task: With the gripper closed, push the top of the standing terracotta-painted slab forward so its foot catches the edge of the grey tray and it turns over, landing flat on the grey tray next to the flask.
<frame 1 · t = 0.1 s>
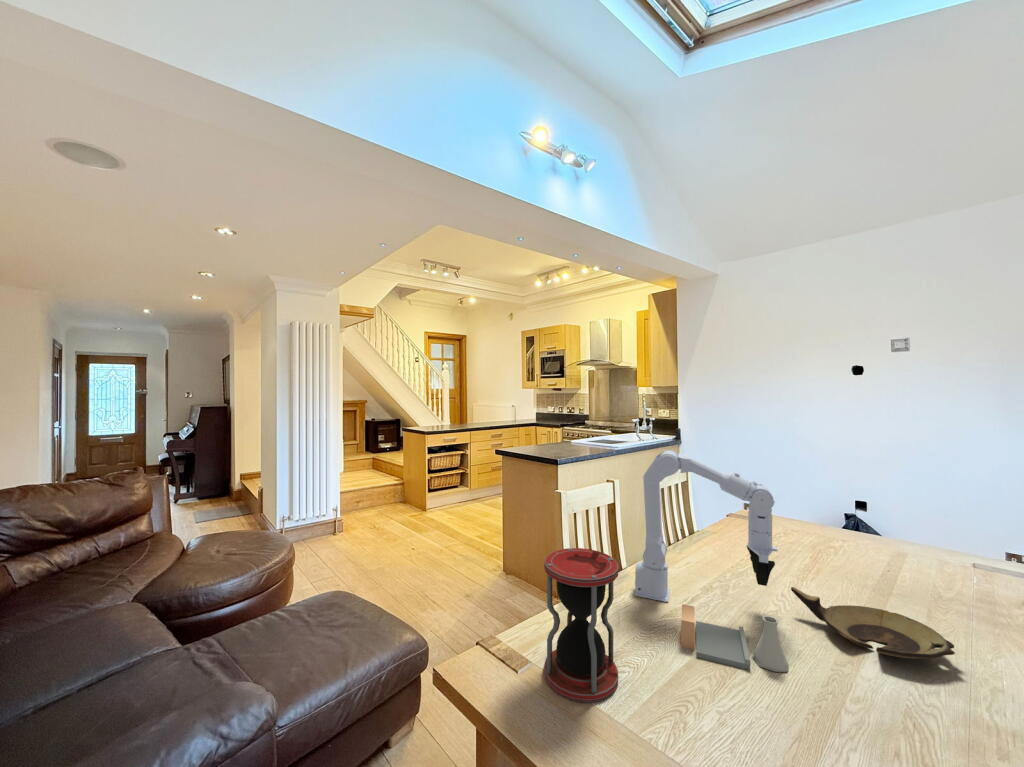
hand: (760, 578, 115), 10 cm above the table, fingers open, 7 cm apart
slab: (688, 638, 104), on the table
oil lamp: (868, 639, 104), on the table
hourglass: (580, 676, 91), on the table
grey tray: (720, 645, 101), on the table
flask: (770, 663, 95), on the table
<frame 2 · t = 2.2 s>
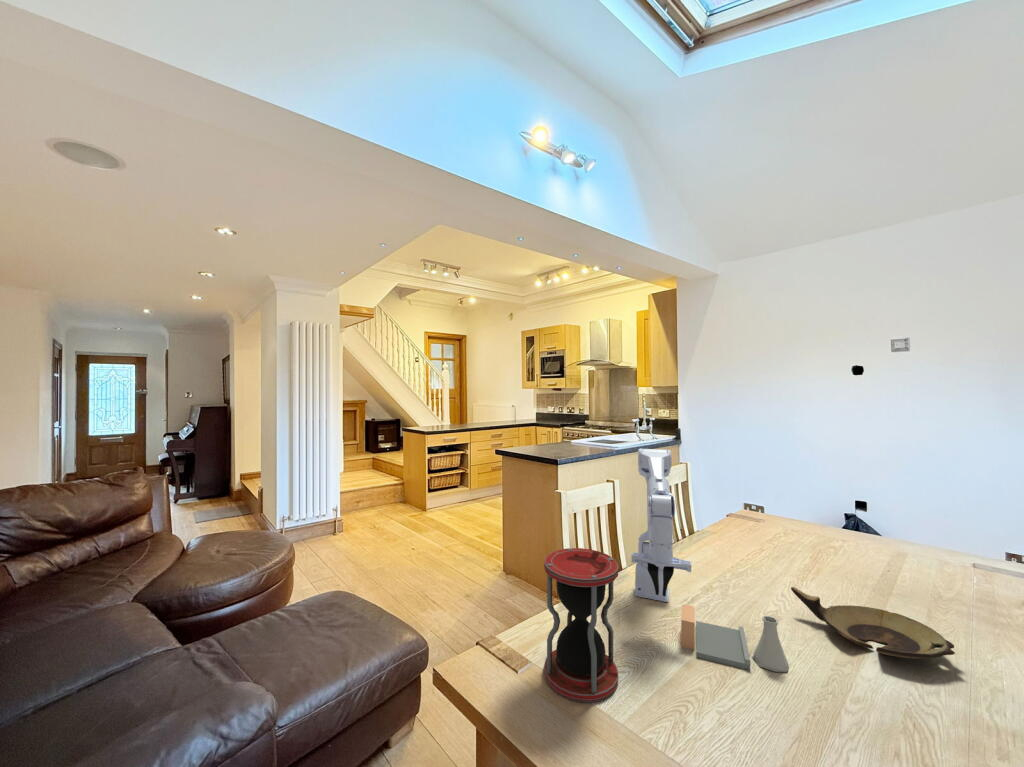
hand: (660, 593, 106), 10 cm above the table, fingers closed
nothing on the table moved.
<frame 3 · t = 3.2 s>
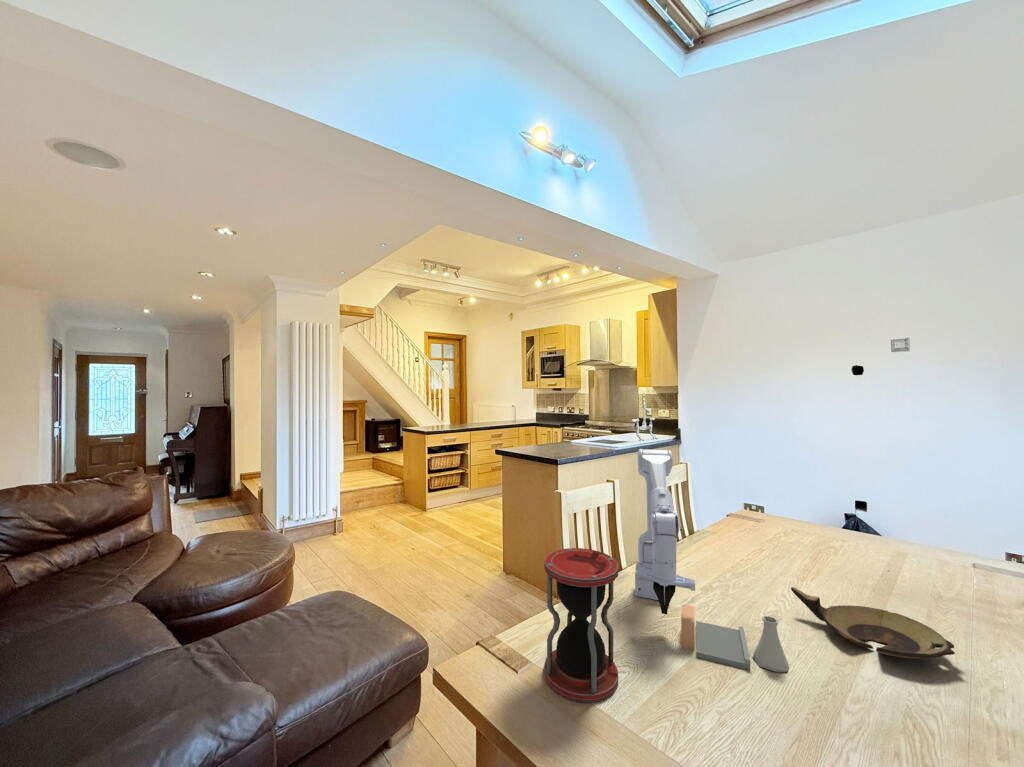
hand: (664, 612, 106), 5 cm above the table, fingers closed
nothing on the table moved.
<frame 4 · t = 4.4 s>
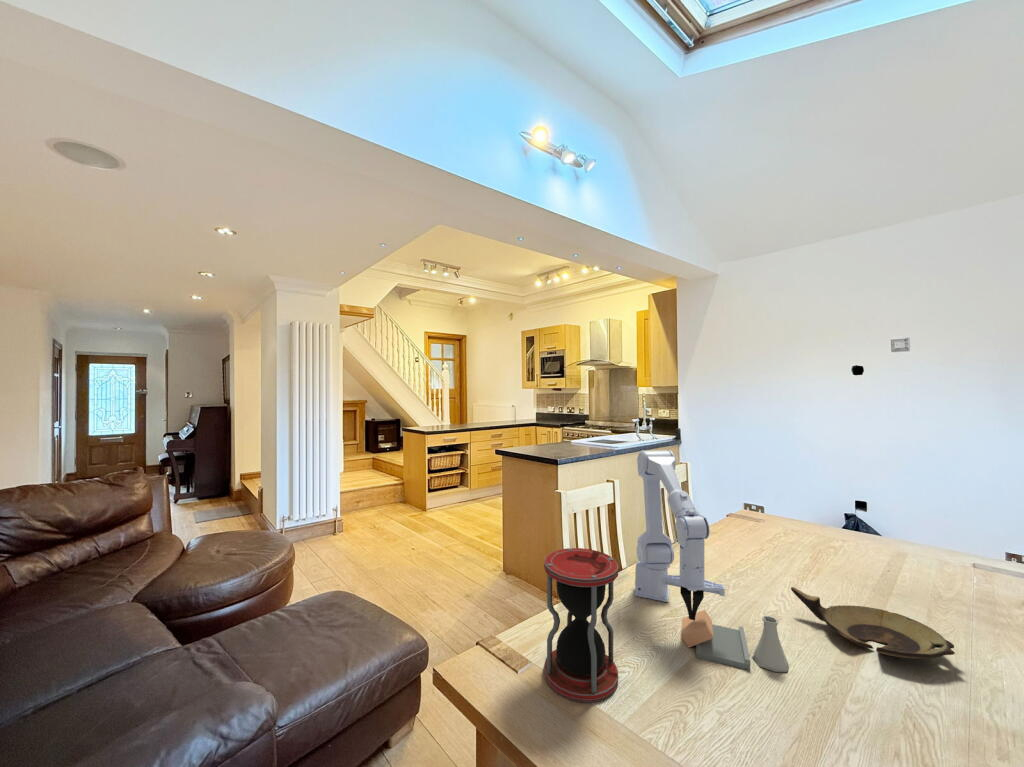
hand: (692, 617, 103), 5 cm above the table, fingers closed
slab: (685, 632, 104), point 1 cm above the table, tilted 56°, touching grey tray
everything else where it was.
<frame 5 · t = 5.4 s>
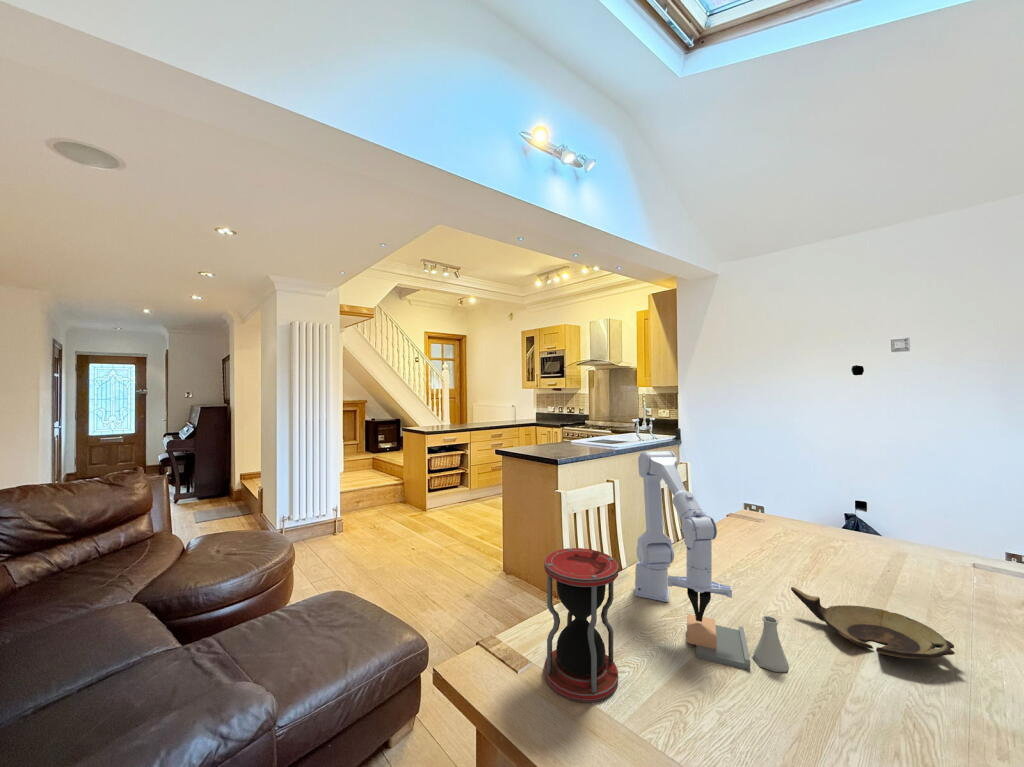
hand: (698, 619, 103), 5 cm above the table, fingers closed
slab: (687, 627, 104), point 3 cm above the table, tilted 90°, touching grey tray
everything else where it was.
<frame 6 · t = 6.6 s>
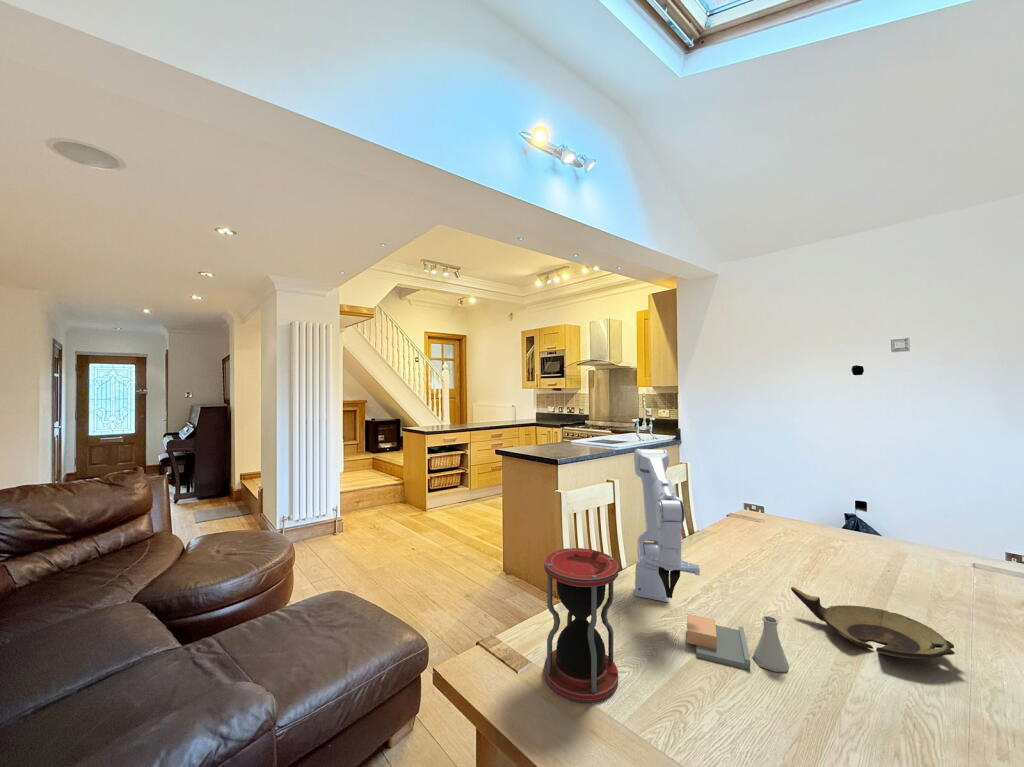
hand: (669, 596, 109), 8 cm above the table, fingers closed
nothing on the table moved.
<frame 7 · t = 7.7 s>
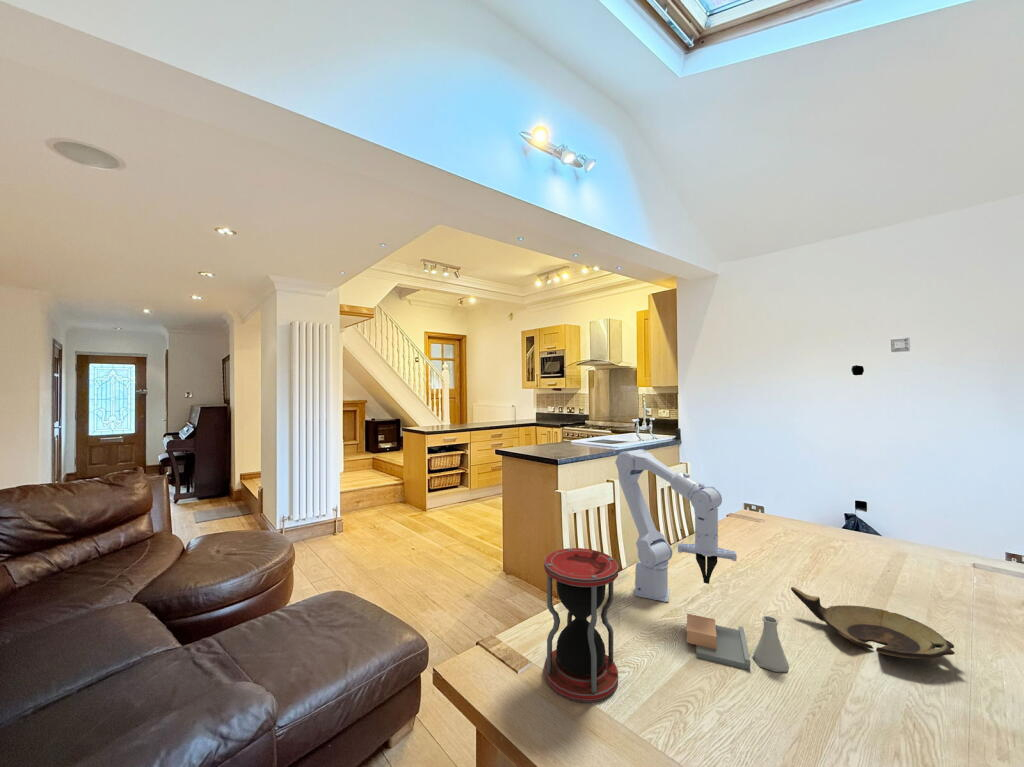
hand: (706, 581, 113), 10 cm above the table, fingers closed
nothing on the table moved.
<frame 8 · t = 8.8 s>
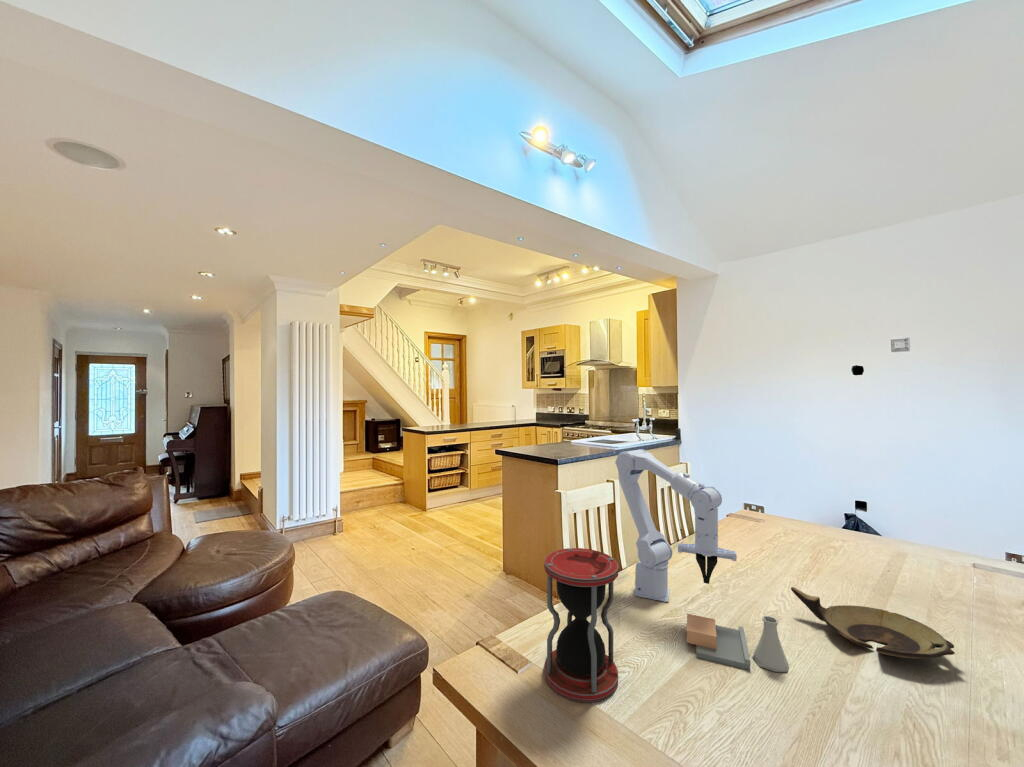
hand: (706, 581, 113), 10 cm above the table, fingers closed
nothing on the table moved.
at the end: slab tilted 90°; slab inside the target area (5.8 cm from its centre), point 2.7 cm above the table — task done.
